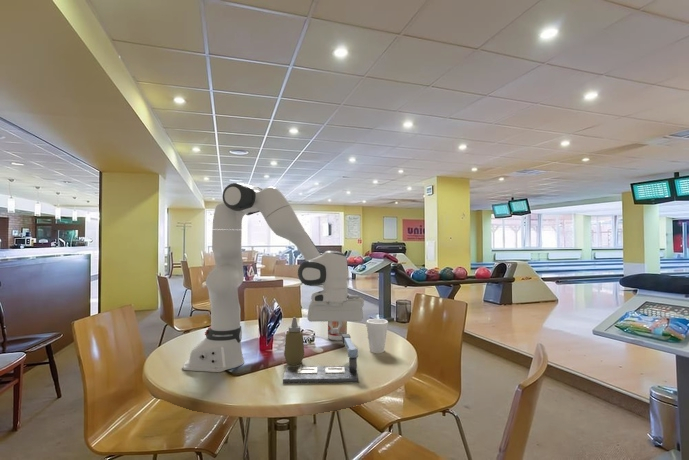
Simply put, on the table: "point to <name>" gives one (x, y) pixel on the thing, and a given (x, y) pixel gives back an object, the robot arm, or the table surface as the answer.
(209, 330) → the robot arm
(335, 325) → the fruit juice
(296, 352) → the squeeze bottle
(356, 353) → the swing arm
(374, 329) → the foam cup
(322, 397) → the table surface
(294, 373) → the switch panel
